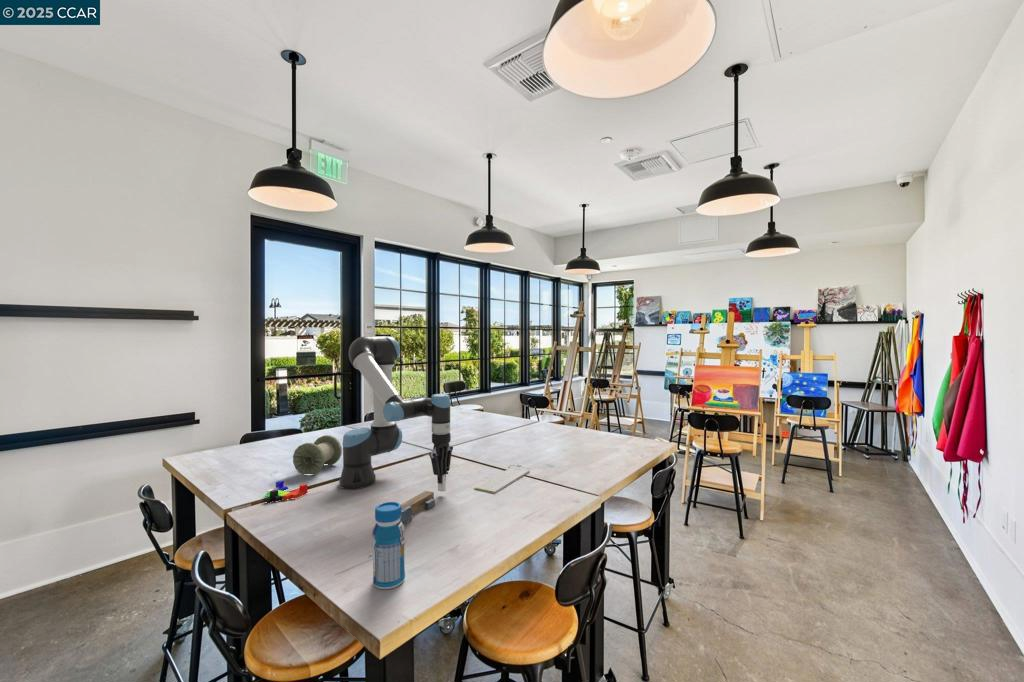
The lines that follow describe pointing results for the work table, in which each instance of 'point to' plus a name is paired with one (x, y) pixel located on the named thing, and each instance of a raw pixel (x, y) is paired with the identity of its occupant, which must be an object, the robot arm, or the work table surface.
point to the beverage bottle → (388, 546)
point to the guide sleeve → (429, 504)
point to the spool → (317, 454)
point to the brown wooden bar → (418, 501)
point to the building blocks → (284, 492)
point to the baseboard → (502, 480)
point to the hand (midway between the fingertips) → (441, 490)
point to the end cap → (406, 514)
